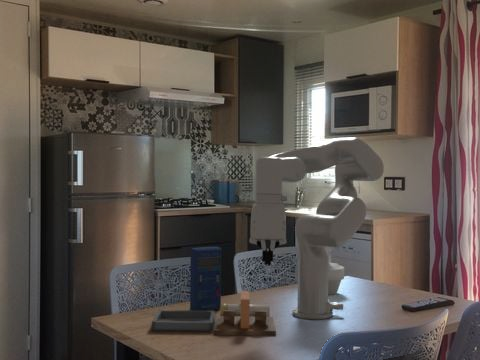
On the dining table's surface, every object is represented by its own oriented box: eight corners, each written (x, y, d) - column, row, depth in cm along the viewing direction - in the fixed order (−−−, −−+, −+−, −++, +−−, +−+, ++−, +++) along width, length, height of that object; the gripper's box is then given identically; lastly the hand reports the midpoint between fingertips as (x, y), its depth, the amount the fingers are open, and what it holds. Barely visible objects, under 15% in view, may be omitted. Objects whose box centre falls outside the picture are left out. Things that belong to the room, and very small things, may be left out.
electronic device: (195, 313, 172) (196, 249, 171) (188, 309, 176) (189, 247, 176) (222, 309, 177) (222, 247, 176) (214, 306, 181) (215, 246, 181)
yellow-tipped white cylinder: (268, 316, 158) (269, 303, 158) (269, 318, 155) (269, 305, 155) (220, 315, 158) (220, 302, 158) (220, 317, 155) (220, 304, 155)
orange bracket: (248, 318, 162) (248, 291, 161) (249, 328, 151) (249, 299, 151) (240, 318, 162) (240, 291, 161) (240, 328, 151) (240, 299, 151)
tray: (214, 319, 165) (214, 310, 165) (212, 332, 152) (212, 322, 152) (158, 318, 165) (158, 310, 165) (151, 331, 152) (151, 322, 152)
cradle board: (272, 321, 163) (272, 302, 163) (275, 335, 149) (276, 315, 149) (216, 320, 163) (216, 302, 163) (213, 334, 149) (214, 314, 149)
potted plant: (346, 296, 196) (348, 227, 196) (314, 296, 196) (315, 227, 196) (340, 289, 209) (341, 224, 208) (310, 288, 209) (311, 223, 208)
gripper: (293, 199, 160) (292, 262, 160) (242, 199, 159) (241, 261, 160) (296, 201, 152) (295, 266, 152) (242, 200, 152) (241, 266, 152)
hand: (267, 264), depth 156 cm, fingers closed
